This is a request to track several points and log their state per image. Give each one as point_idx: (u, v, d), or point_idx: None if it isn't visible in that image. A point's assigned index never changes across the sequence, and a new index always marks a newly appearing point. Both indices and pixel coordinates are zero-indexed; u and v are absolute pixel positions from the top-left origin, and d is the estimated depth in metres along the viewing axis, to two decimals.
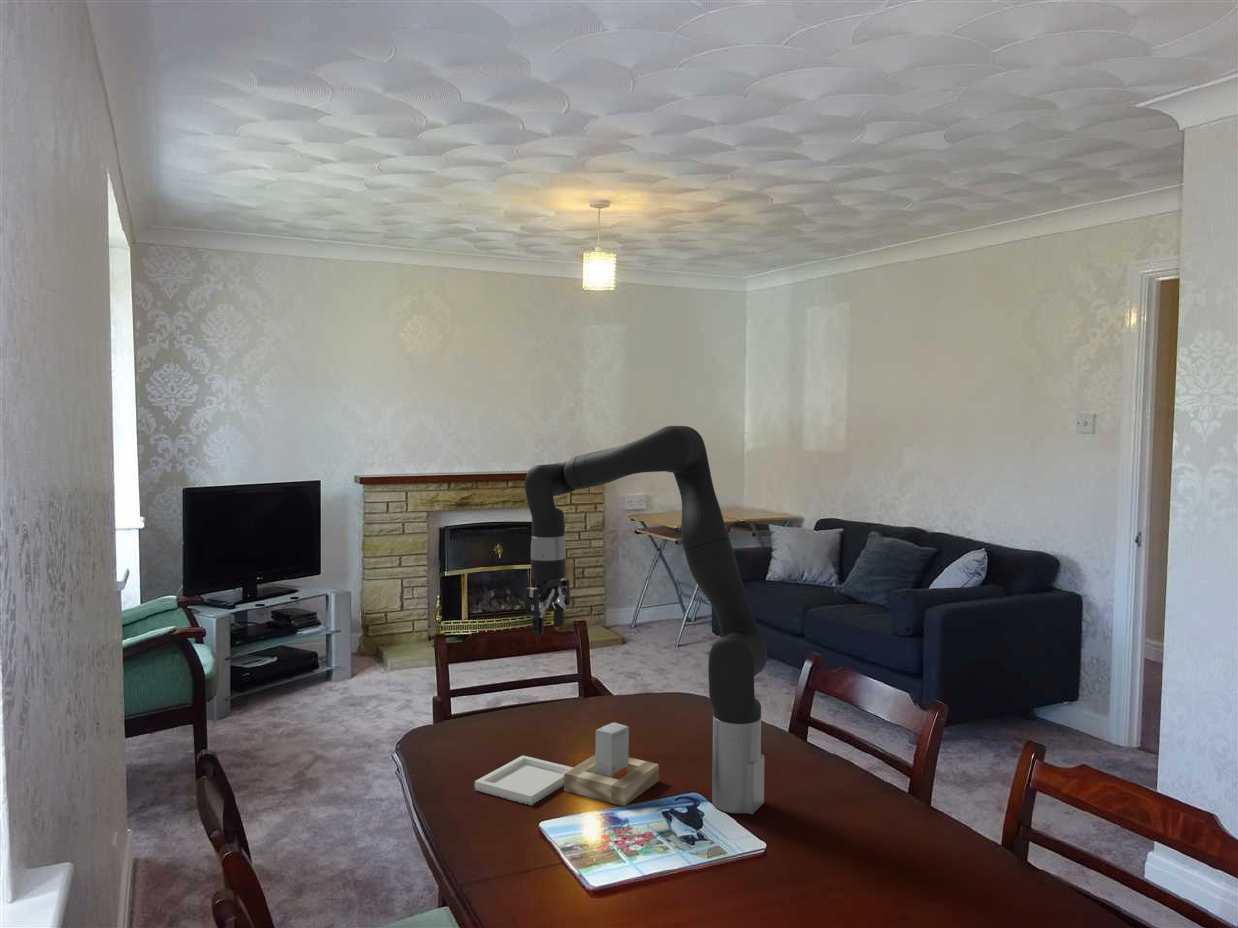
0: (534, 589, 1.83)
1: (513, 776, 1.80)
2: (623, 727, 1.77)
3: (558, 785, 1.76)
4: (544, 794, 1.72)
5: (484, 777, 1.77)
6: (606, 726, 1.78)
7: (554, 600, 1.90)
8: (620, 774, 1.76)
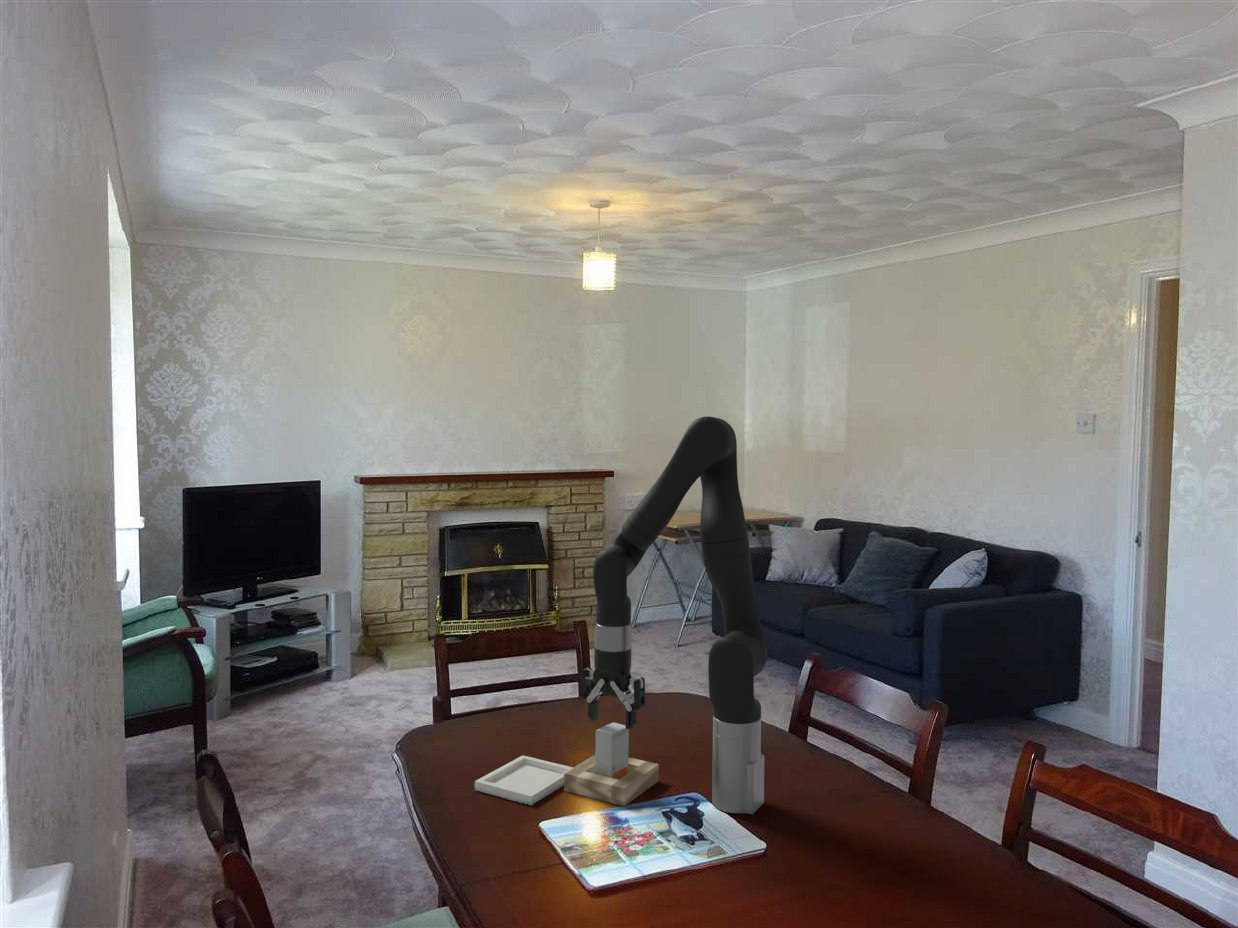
0: (642, 679, 1.74)
1: (513, 776, 1.80)
2: (623, 727, 1.77)
3: (558, 785, 1.76)
4: (544, 794, 1.72)
5: (484, 777, 1.77)
6: (606, 726, 1.78)
7: None
8: (620, 774, 1.76)
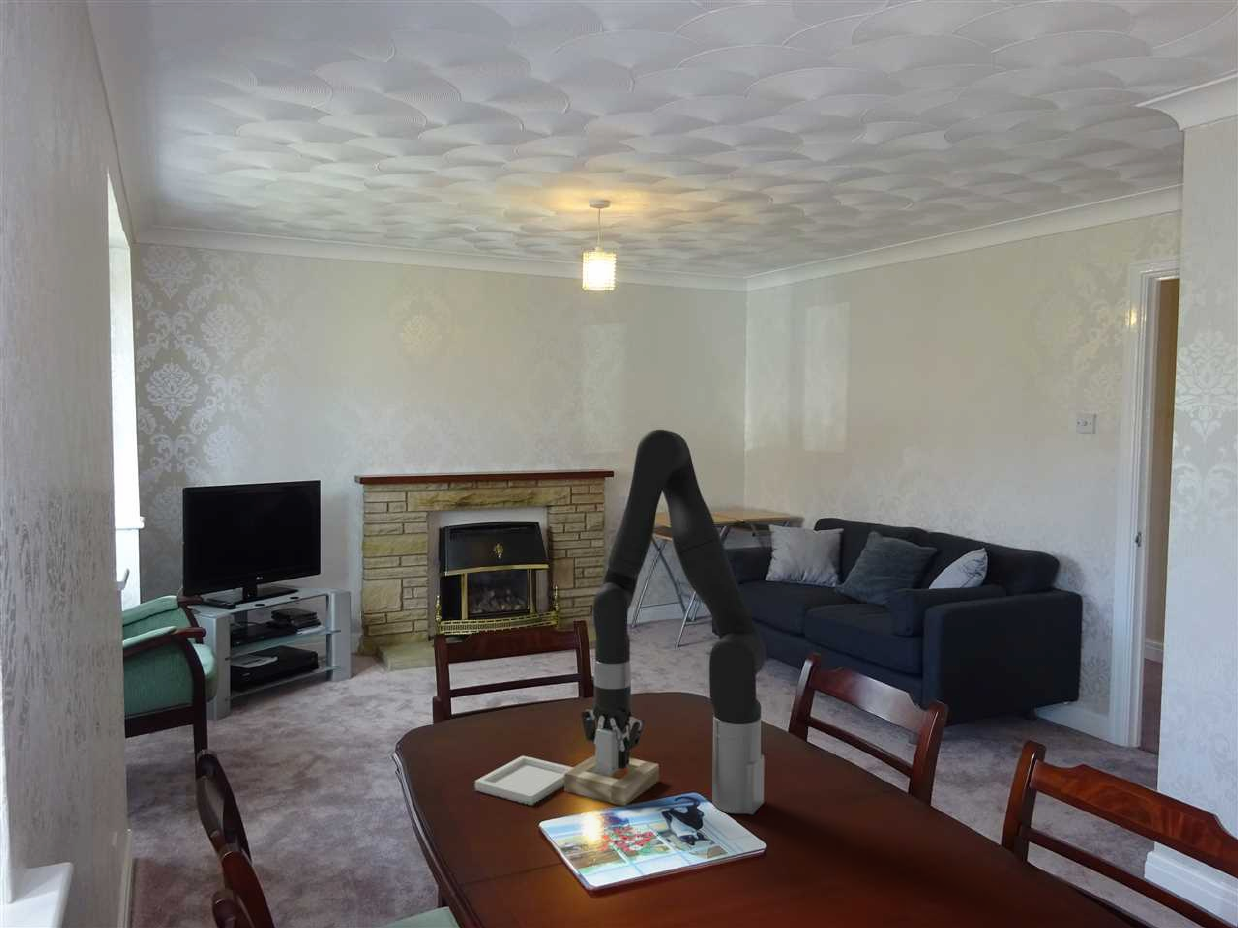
0: (642, 722, 1.74)
1: (513, 776, 1.80)
2: None
3: (558, 785, 1.76)
4: (544, 794, 1.72)
5: (484, 777, 1.77)
6: None
7: None
8: (620, 774, 1.76)
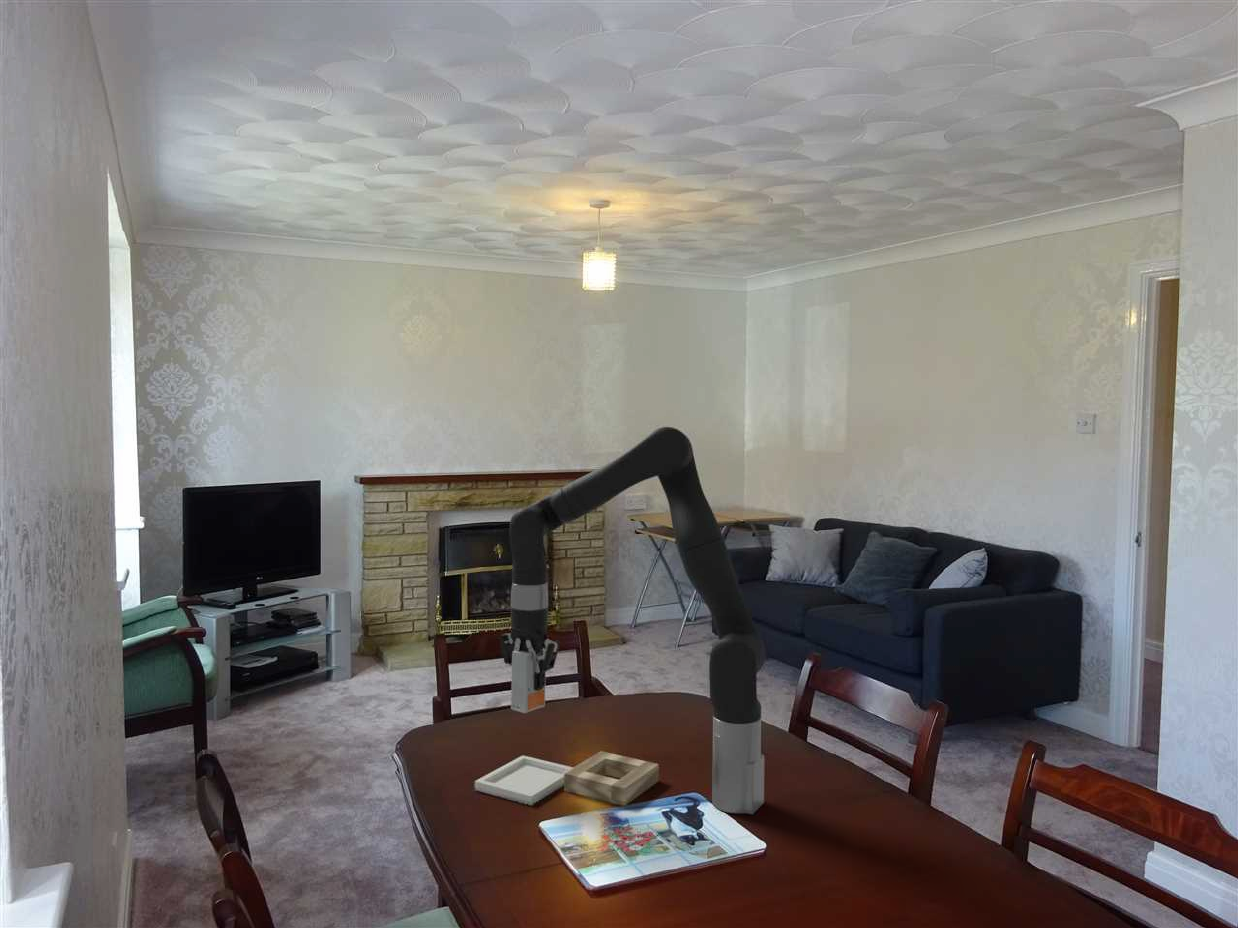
0: (557, 644, 1.75)
1: (513, 776, 1.80)
2: None
3: (558, 785, 1.76)
4: (544, 794, 1.72)
5: (484, 777, 1.77)
6: None
7: None
8: (536, 696, 1.77)
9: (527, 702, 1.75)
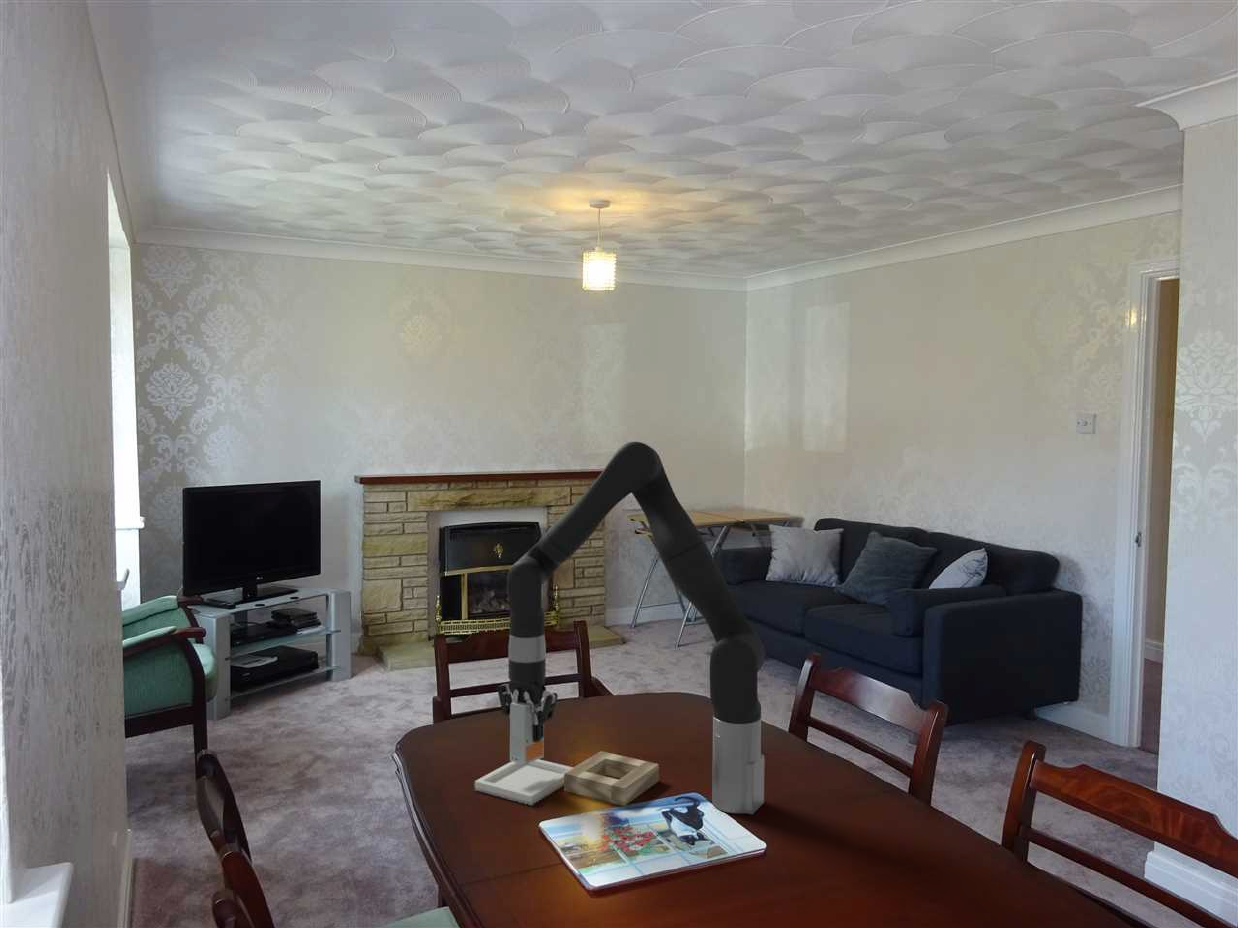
0: (555, 695, 1.75)
1: (513, 776, 1.80)
2: None
3: (558, 785, 1.76)
4: (544, 794, 1.72)
5: (484, 777, 1.77)
6: None
7: None
8: (535, 747, 1.77)
9: (525, 754, 1.75)
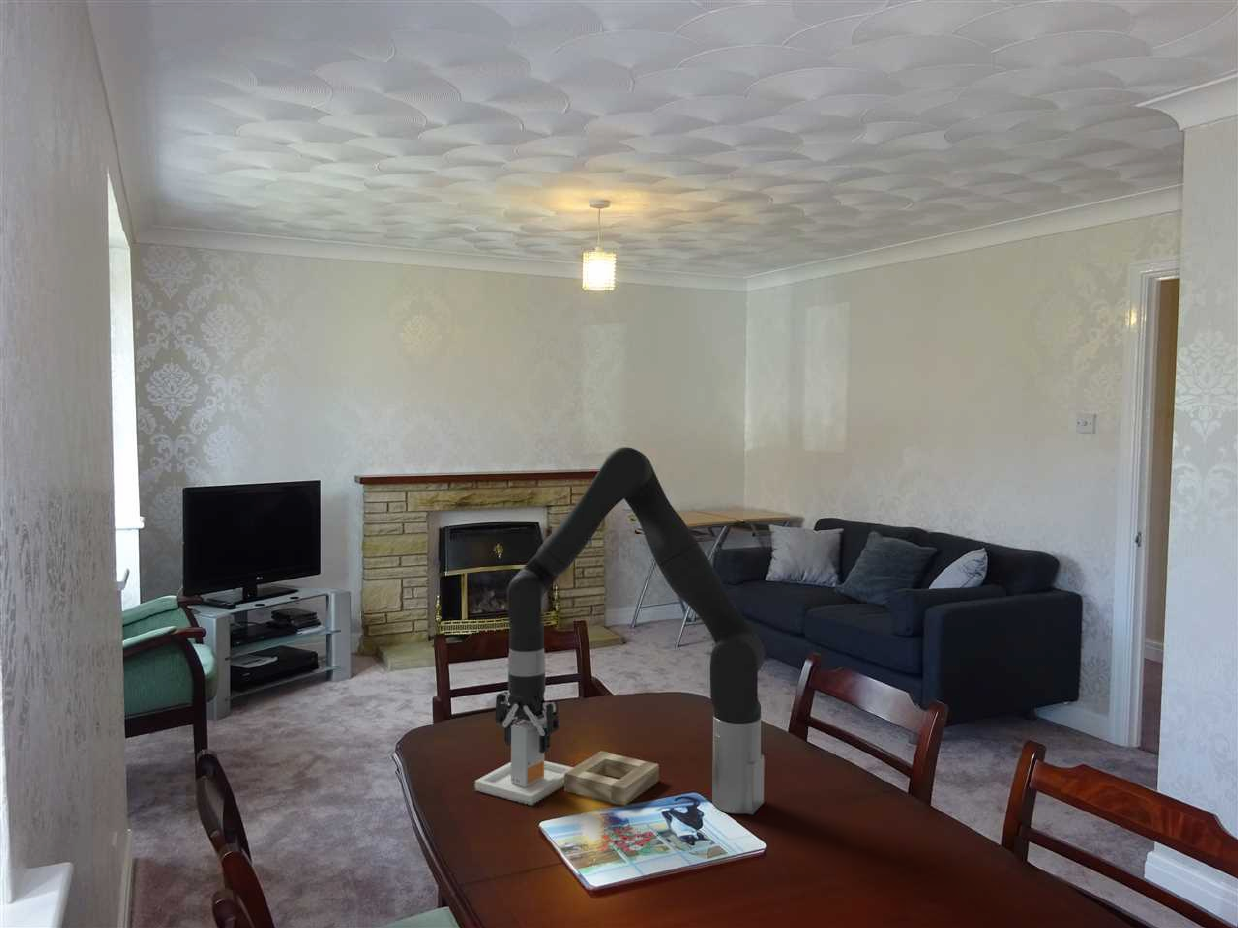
0: (555, 703, 1.75)
1: None
2: None
3: (558, 785, 1.76)
4: (544, 794, 1.72)
5: (484, 777, 1.77)
6: (522, 721, 1.78)
7: None
8: (536, 769, 1.77)
9: (527, 776, 1.75)
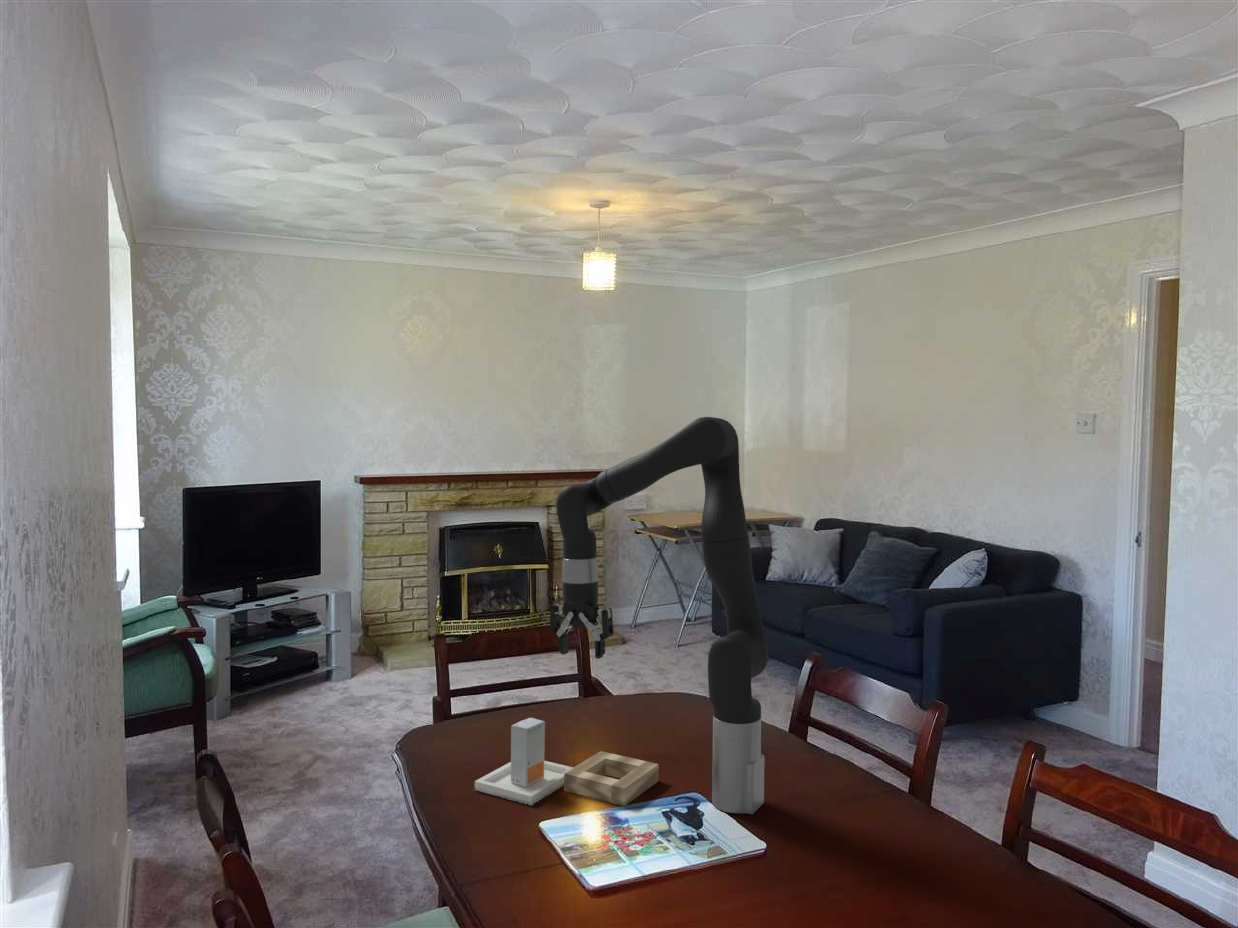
0: (610, 609, 1.81)
1: None
2: (539, 722, 1.78)
3: (558, 785, 1.76)
4: (544, 794, 1.72)
5: (484, 777, 1.77)
6: (522, 721, 1.78)
7: None
8: (536, 769, 1.77)
9: (527, 776, 1.75)
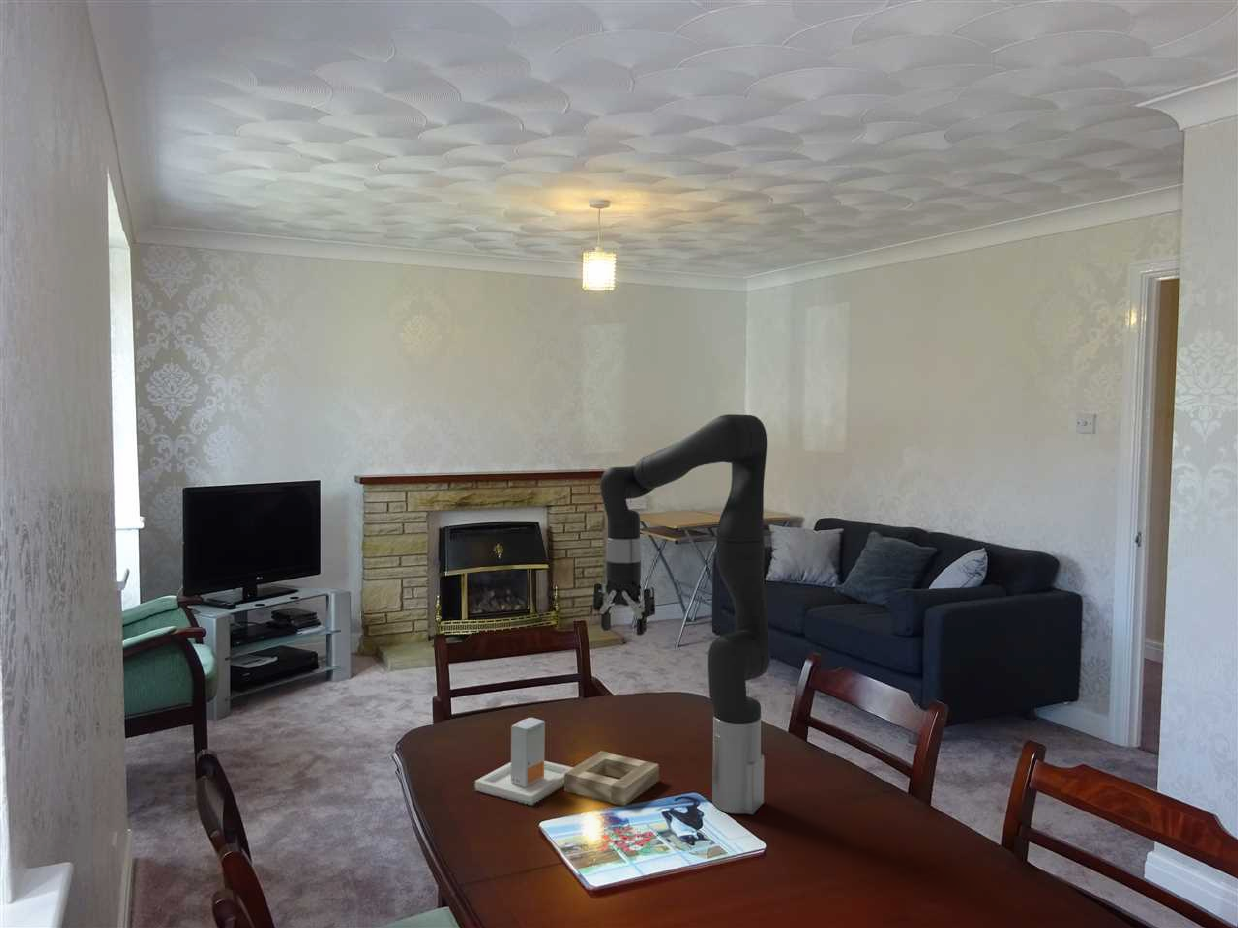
0: (652, 588, 1.87)
1: None
2: (539, 722, 1.78)
3: (558, 785, 1.76)
4: (544, 794, 1.72)
5: (484, 777, 1.77)
6: (522, 721, 1.78)
7: None
8: (536, 769, 1.77)
9: (527, 776, 1.75)
